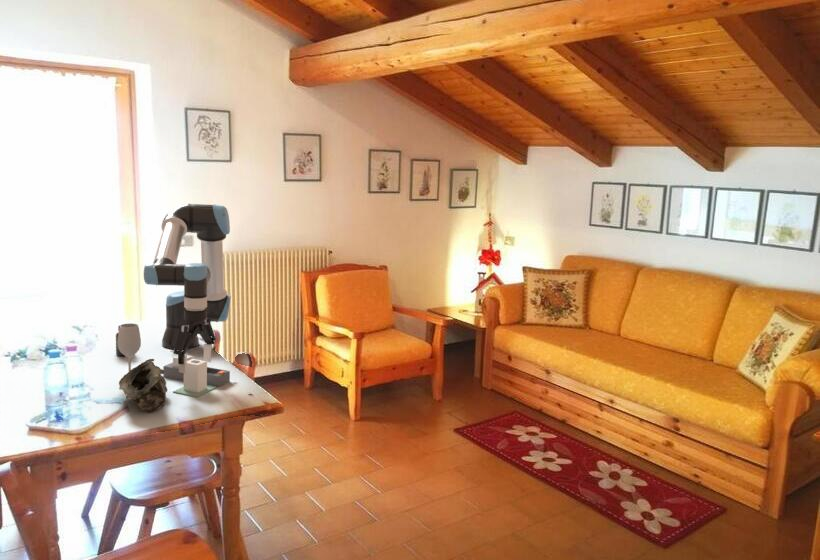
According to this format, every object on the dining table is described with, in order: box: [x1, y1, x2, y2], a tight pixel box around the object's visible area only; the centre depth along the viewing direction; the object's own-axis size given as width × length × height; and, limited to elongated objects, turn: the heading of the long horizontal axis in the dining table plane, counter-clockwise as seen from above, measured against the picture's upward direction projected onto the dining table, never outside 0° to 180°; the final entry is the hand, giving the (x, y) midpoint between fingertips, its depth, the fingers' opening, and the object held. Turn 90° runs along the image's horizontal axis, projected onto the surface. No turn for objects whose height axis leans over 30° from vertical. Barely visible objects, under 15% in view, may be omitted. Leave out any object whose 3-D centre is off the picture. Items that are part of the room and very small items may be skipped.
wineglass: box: [117, 322, 142, 372], centre depth 229 cm, size 8×8×21 cm
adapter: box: [172, 354, 194, 368], centre depth 239 cm, size 5×5×5 cm
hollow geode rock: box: [118, 358, 168, 414], centre depth 212 cm, size 28×13×15 cm
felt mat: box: [172, 385, 218, 398], centre depth 227 cm, size 11×10×1 cm
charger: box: [183, 358, 208, 393], centre depth 226 cm, size 5×6×10 cm
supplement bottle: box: [115, 325, 127, 358], centre depth 261 cm, size 7×7×12 cm
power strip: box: [160, 362, 231, 388], centre depth 239 cm, size 31×7×4 cm, turn 71°
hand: (195, 367), depth 226 cm, fingers open, 13 cm apart
